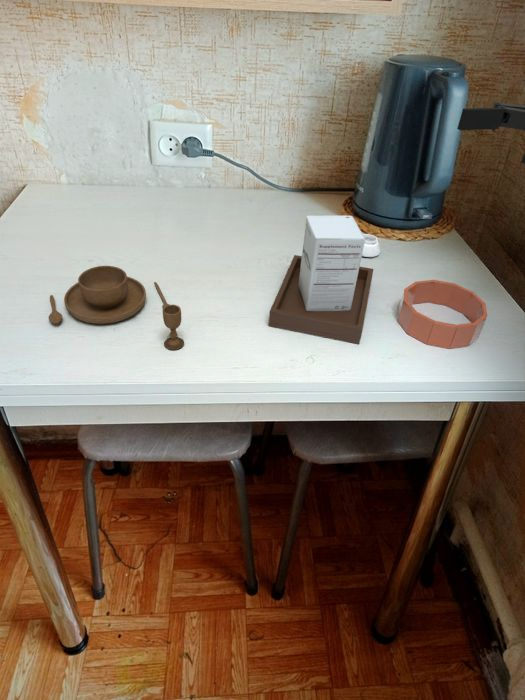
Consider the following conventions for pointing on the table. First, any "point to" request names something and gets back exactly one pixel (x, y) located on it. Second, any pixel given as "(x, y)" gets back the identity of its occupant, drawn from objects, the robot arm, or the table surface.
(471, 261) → the table surface
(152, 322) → the table surface
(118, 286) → the place setting
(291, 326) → the tray
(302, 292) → the white packaging box
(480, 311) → the terracotta ring
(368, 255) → the white jar
